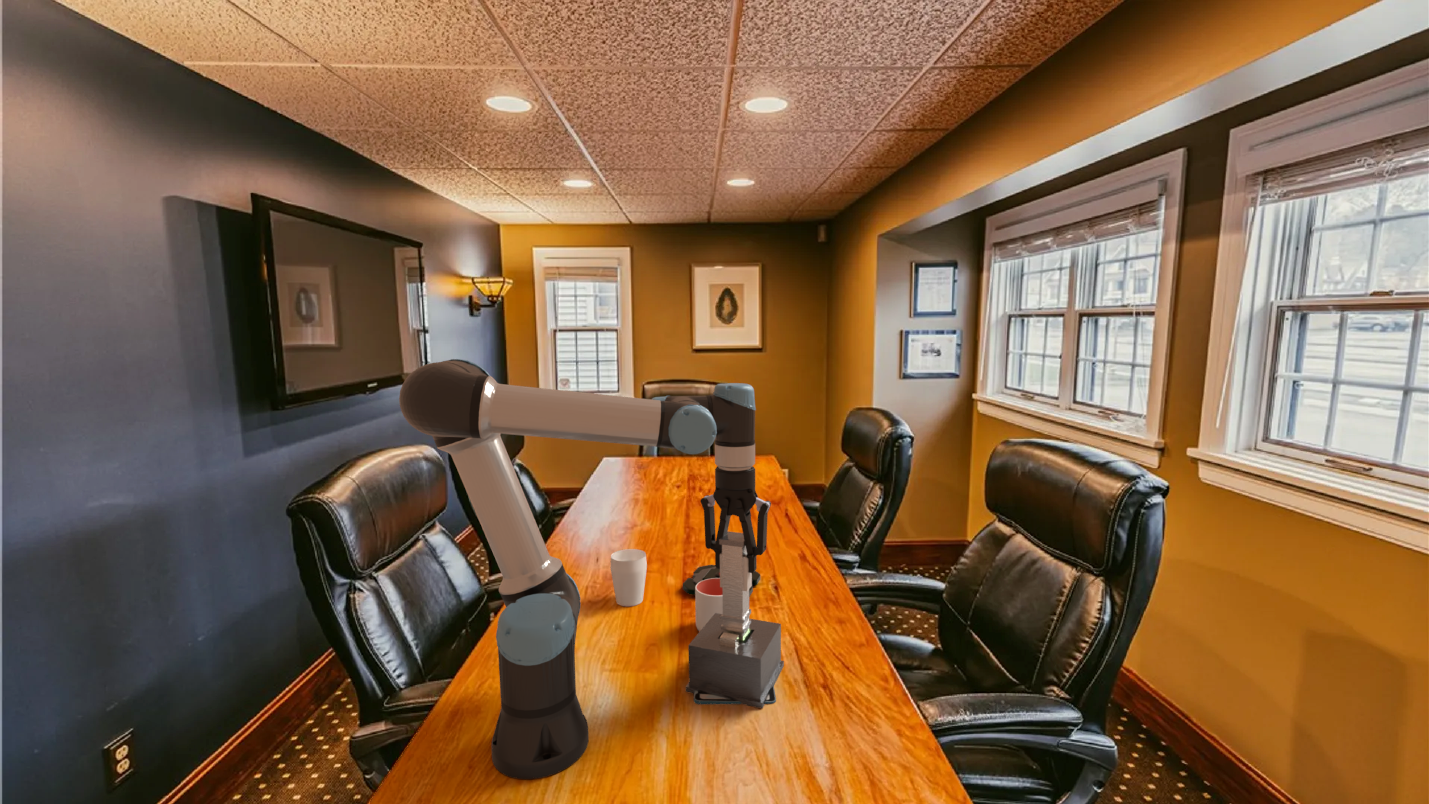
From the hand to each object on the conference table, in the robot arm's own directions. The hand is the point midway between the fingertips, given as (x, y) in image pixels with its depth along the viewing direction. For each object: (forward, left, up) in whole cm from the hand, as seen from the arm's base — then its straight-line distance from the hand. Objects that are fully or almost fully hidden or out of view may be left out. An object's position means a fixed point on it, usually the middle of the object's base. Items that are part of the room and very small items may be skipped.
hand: (735, 586), depth 115 cm
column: (0, 0, -11) cm, 11 cm away
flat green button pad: (+40, +17, -19) cm, 47 cm away
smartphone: (-4, -1, -19) cm, 20 cm away
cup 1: (+24, +36, -19) cm, 47 cm away
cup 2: (+18, +10, -19) cm, 28 cm away
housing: (0, 0, -19) cm, 19 cm away
